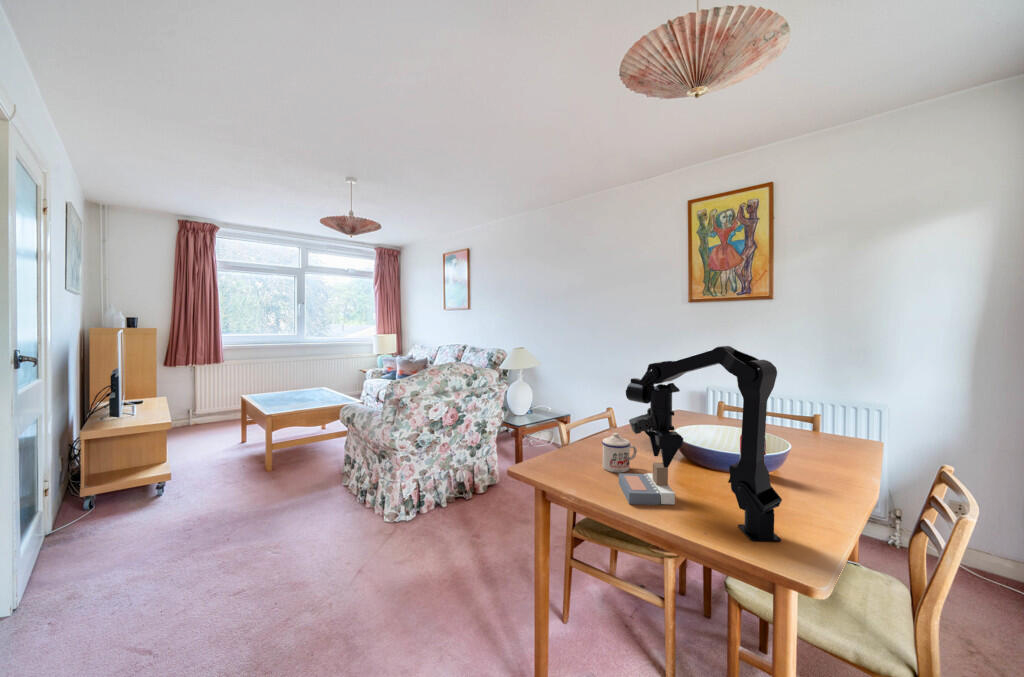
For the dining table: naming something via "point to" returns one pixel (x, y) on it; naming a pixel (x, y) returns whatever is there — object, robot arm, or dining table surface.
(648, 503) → the grey flat block
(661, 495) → the stub
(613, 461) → the teacup with lid
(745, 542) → the dining table surface
